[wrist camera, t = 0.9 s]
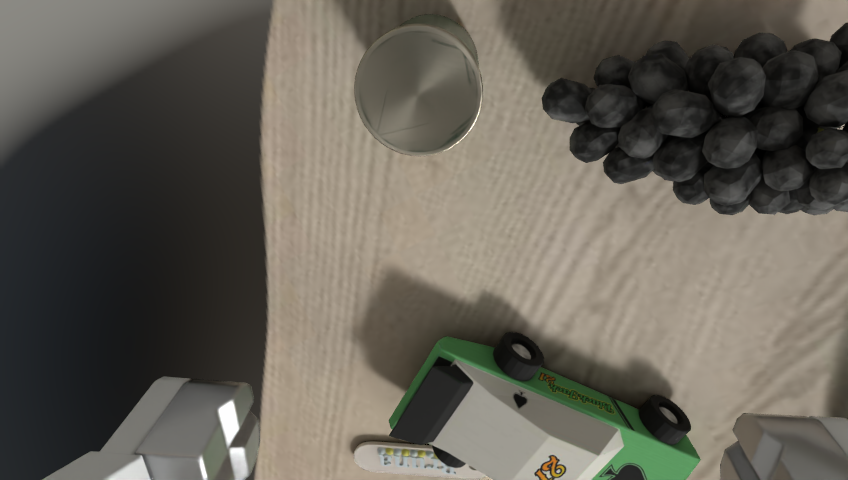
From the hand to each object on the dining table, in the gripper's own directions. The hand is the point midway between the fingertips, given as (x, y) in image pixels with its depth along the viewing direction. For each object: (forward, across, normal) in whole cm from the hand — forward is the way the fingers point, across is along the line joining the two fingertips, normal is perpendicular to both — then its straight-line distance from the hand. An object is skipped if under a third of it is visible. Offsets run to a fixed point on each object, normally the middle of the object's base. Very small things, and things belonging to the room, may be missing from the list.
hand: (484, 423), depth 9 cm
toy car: (+21, -6, +20) cm, 30 cm away
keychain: (+21, +3, +26) cm, 33 cm away
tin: (+21, +2, -3) cm, 21 cm away
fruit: (+21, -10, -1) cm, 24 cm away
